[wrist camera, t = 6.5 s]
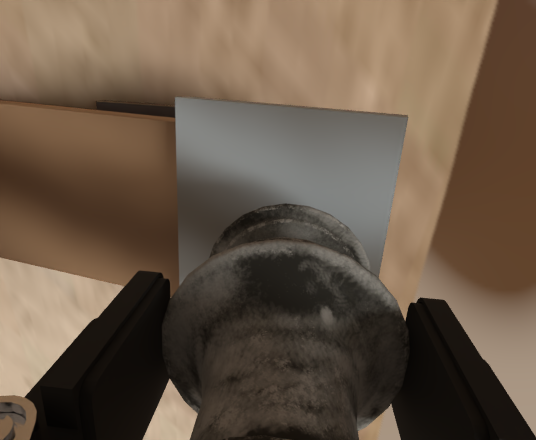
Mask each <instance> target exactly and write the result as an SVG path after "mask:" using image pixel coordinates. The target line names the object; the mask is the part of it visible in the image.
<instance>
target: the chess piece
mask: <svg viewBox="0 0 536 440" xmlns="http://www.w3.org/2000/svg"><path fill="white" fill-rule="evenodd" d="M409 353H410V345H409V330H408V328H407V325H406V323H405V320H404V318H403V315H402V313H401V310H400V308H399V305H398V303H397V300H396V299H395V298H394V297H393V295H392V294H391V293H390V292H389V291H388V289H387V288H386V287H385V286H384V284H383V283H382V282H381V281H380V279H379V278H378V277H377V276H376V275H375V274H373V273H372V272H371V269H370V263H369V260H368V258H367V256H366V253H365V251H364V248H363V246H362V244H361V242H360V241H359V240H358V239H357V237H356V236H355V235H354V234H353V232H352V231H351V230H350V229H349V227H347V226H346V225H345V224H343V223H342V222H340V221H339V220H338V219H336V218H335V217H333V216H332V215H331V214H328V213H326V212H323V211H321V210H318V209H315V208H313V207H310V206H304V205H296V204H287V203H285V204H277V205H270V206H263V207H261V208H258V209H256V210H253V211H251V212H249V213H246V214H244V215H242V216H241V217H239V218H238V219H237V220H235V221H234V222H233V223H232V224H230V225H229V226H228V227H226V229H225V230H224V231H223V233H222V234H221V235H220V237H219V238H218V240H217V241H216V242H215V244H214V245H213V248H212V251H211V254H210V257H209V259H208V260H206V261H205V262H204V263H202V264H201V265H200V266H198V267H197V268H196V269H194V270H193V271H192V272H191V273H189V274H188V275H187V276H186V278H185V279H184V281H183V282H182V283H181V285H180V286H179V287H178V289H177V290H176V292H175V293H174V294H173V296H172V297H171V299H170V300H169V304H168V307H167V310H166V313H165V316H164V319H163V322H162V354H163V359H164V362H165V365H166V369H167V372H168V375H169V378H170V379H171V381H172V383H173V384H174V386H175V387H176V389H177V390H178V392H179V393H180V395H181V396H182V398H183V399H184V401H185V402H186V403H187V404H188V405H189V406H190V407H191V408H192V409H193V410H195V411H196V412H197V413H198V416H197V419H196V422H195V425H194V428H193V432H192V435H191V438H190V440H359V437H358V431H359V430H361V429H363V428H365V427H367V426H368V425H369V424H370V423H371V422H372V421H374V420H375V419H376V418H377V417H378V416H379V415H380V414H382V413H383V412H384V411H385V410H386V409H387V408H388V407H389V406H390V404H391V403H392V401H393V400H394V398H395V397H396V395H397V393H398V392H399V390H400V389H401V387H402V385H403V381H404V377H405V373H406V369H407V365H408V361H409Z"/></svg>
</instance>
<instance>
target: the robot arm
mask: <svg viewBox="0 0 536 440" xmlns="http://www.w3.org/2000/svg"><path fill="white" fill-rule="evenodd" d="M170 299H171V295H170V281H169V279H165V278H164V277H163V274H162V273H161V272H151V271H138V272H137V273H136V274H135V275H134V276H133V277H132V279H131V280H130V281H129V282H128V283H127V284H126V286H125V287H124V288H123V289H122V290H121V291H120V293H119V294H118V295H117V296H116V297H115V298H114V300H113V301H112V302H111V303H110V304H109V305H108V307H107V308H106V309H105V310H104V311H103V312H102V314H101V315H100V316H99V317H98V318H96V319H94V320H92V321H91V322H90V323H89V324H88V325H87V326H86V328H85V329H84V330H83V331H82V332H81V333H80V334H79V336H78V337H77V338H76V339H75V340H74V341H73V343H72V344H71V345H70V346H69V347H68V348H67V349H66V351H65V352H64V353H63V354H62V355H61V356H60V357H59V359H58V360H57V361H56V362H55V363H54V364H53V365H52V367H51V368H50V369H49V370H48V371H47V372H46V373H45V375H44V376H43V377H42V378H41V379H40V380H39V381H38V383H37V384H36V385H35V386H34V387H33V388H32V389H31V391H30V392H29V393H28V394H27V395H26V396H25V397H20V396H15V395H13V396H0V440H142V439H143V437H144V435H145V433H146V430H147V428H148V426H149V424H150V421H151V419H152V417H153V415H154V412H155V410H156V408H157V406H158V403H159V401H160V399H161V397H162V394H163V392H164V390H165V388H166V386H167V383H168V381H169V379H170V378H169V375H168V372H167V369H166V365H165V362H164V359H163V354H162V322H163V319H164V316H165V313H166V310H167V307H168V304H169V300H170ZM405 323H406V325H407V328H408V330H409V345H410V353H409V361H408V365H407V369H406V373H405V377H404V381H403V385H402V387H401V389H400V390H399V392H398V393H397V395H396V397H395V398H394V400H393V401H392V403H391V404H392V408H393V412H394V415H395V419H396V423H397V426H398V430H399V434H400V437H401V440H536V437H535V435H534V434H533V432H532V431H531V429H530V427H529V426H528V424H527V423H526V421H525V420H524V418H523V417H522V415H521V414H520V412H519V410H518V409H517V408H516V406H515V404H514V403H513V401H512V400H511V399H510V397H509V395H508V394H507V392H506V390H505V389H504V387H503V386H502V384H501V383H500V381H499V380H498V378H497V377H496V375H495V374H494V372H493V370H492V369H491V367H490V366H489V364H488V363H487V362H486V361H485V360H483V359H482V357H481V356H480V354H479V353H478V351H477V349H476V348H475V346H474V345H473V343H472V342H471V340H470V339H469V337H468V335H467V334H466V332H465V331H464V329H463V328H462V326H461V324H460V323H459V321H458V320H457V318H456V317H455V315H454V314H453V312H452V310H451V309H450V307H449V306H448V304H447V303H446V301H445V300H439V299H428V298H419V299H418V300H417V303H410V305H409V308H408V312H407V317H406V321H405Z"/></svg>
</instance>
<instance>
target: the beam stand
mask: <svg viewBox="0 0 536 440" xmlns="http://www.w3.org/2000/svg"><path fill="white" fill-rule="evenodd" d="M96 105H97V110H102V111H112V112H122V113H131V114H141V115H151V116H161V117H171V118H175V105H163V104H149V103H135V102H120V101H106V100H104V101H96Z"/></svg>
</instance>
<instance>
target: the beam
mask: <svg viewBox="0 0 536 440" xmlns="http://www.w3.org/2000/svg"><path fill="white" fill-rule="evenodd" d="M407 121H408V116H407V115H399V114H387V113H375V112H364V111H352V110H340V109H329V108H317V107H305V106H294V105H282V104H270V103H259V102H247V101H235V100H224V99H212V98H200V97H188V96H182V97H175V118H171V117H161V116H151V115H141V114H131V113H122V112H112V111H102V110H92V109H82V108H73V107H63V106H53V105H43V104H33V103H23V102H14V101H4V100H0V257H1V258H5V259H10V260H14V261H18V262H22V263H27V264H31V265H35V266H40V267H44V268H48V269H53V270H57V271H61V272H66V273H70V274H74V275H79V276H83V277H87V278H92V279H96V280H100V281H105V282H109V283H113V284H118V285H122V286H126V284H127V283H128V282H129V281H130V280H131V279H132V277H133V276H134V275H135V274H136V273H137V272H138V271H151V272H161V273H162V274H163V277H164V278H165V279H169V281H170V295H171V297H172V296H173V294H174V293H175V292H176V290H177V289H178V287H179V286H180V285H181V283H182V282H183V281H184V279H185V278H186V276H187V275H188V274H189V273H191V272H192V271H193V270H194V269H196V268H197V267H198V266H200V265H201V264H202V263H204V262H205V261H206V260H208V259H209V257H210V254H211V251H212V248H213V245H214V244H215V242H216V241H217V240H218V238H219V237H220V235H221V234H222V233H223V231H224V230H225V229H226V227H228V226H229V225H230V224H232V223H233V222H234V221H235V220H237V219H238V218H239V217H241V216H242V215H244V214H246V213H249V212H251V211H253V210H256V209H258V208H261V207H263V206H270V205H277V204H285V203H287V204H296V205H304V206H310V207H313V208H315V209H318V210H321V211H323V212H326V213H328V214H331V215H332V216H333V217H335V218H336V219H338V220H339V221H340V222H342V223H343V224H345V225H346V226H347V227H349V229H350V230H351V231H352V232H353V234H354V235H355V236H356V237H357V239H358V240H359V241H360V242H361V244H362V246H363V248H364V251H365V253H366V256H367V258H368V260H369V263H370V269H371V272H372V273H373V274H375V275H376V276H377V277H378V278H379V272H380V267H381V262H382V256H383V251H384V245H385V240H386V234H387V229H388V224H389V218H390V213H391V207H392V202H393V197H394V191H395V186H396V180H397V175H398V170H399V164H400V159H401V153H402V148H403V142H404V137H405V132H406V126H407Z"/></svg>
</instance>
